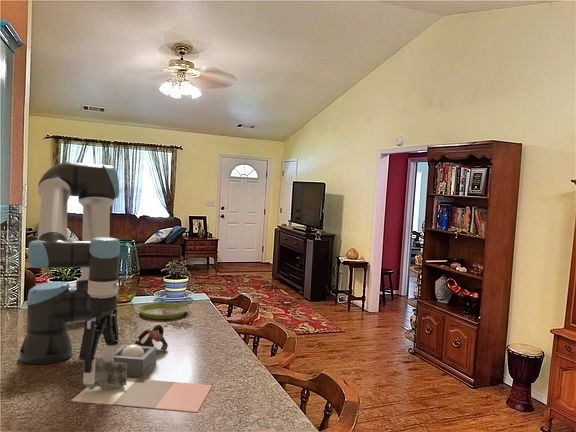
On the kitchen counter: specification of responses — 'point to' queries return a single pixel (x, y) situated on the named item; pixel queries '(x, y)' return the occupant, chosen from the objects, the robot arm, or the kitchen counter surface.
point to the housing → (137, 360)
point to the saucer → (162, 305)
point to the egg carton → (109, 375)
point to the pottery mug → (153, 337)
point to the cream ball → (133, 351)
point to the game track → (149, 395)
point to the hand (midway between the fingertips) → (98, 375)
